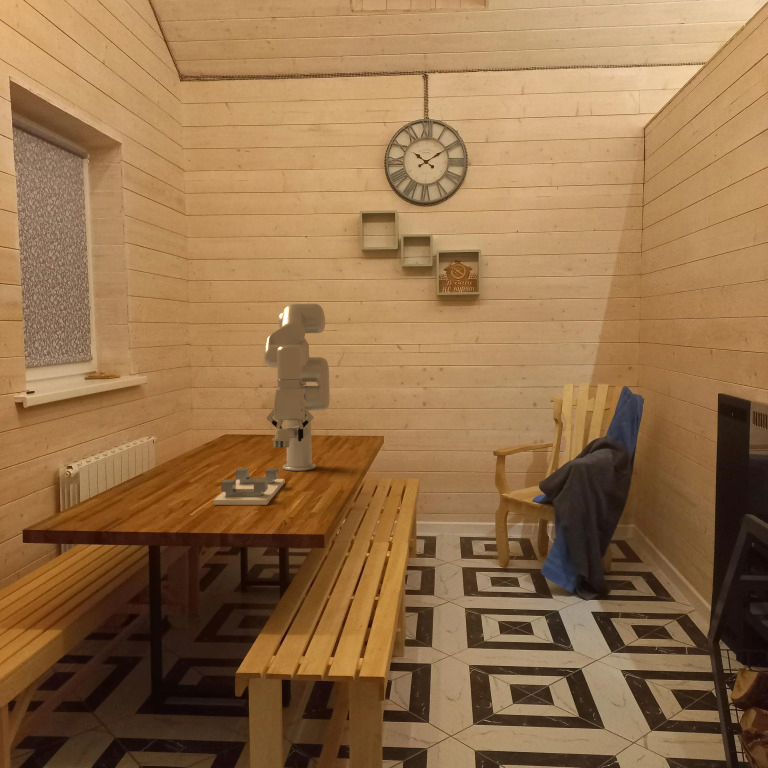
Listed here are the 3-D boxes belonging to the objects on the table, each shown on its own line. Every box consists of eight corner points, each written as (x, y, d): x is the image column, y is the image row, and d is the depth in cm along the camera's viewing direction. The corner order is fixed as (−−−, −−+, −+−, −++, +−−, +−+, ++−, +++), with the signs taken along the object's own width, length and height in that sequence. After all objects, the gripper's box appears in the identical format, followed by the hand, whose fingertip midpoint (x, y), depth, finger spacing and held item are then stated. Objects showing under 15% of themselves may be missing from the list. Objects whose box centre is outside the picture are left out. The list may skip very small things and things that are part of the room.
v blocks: (238, 481, 231) (238, 468, 231) (278, 481, 231) (278, 468, 230) (221, 496, 209) (221, 482, 209) (265, 496, 209) (264, 482, 208)
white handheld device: (309, 425, 231) (287, 425, 206) (309, 445, 230) (286, 447, 206) (294, 425, 231) (270, 425, 207) (294, 444, 231) (269, 447, 206)
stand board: (238, 483, 235) (238, 478, 235) (284, 483, 235) (284, 478, 235) (213, 504, 205) (213, 499, 205) (266, 504, 205) (266, 499, 205)
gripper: (317, 383, 221) (318, 439, 222) (264, 383, 221) (266, 439, 222) (315, 385, 213) (316, 442, 215) (260, 385, 214) (261, 443, 215)
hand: (290, 440), depth 219 cm, fingers closed on white handheld device, 5 cm apart
